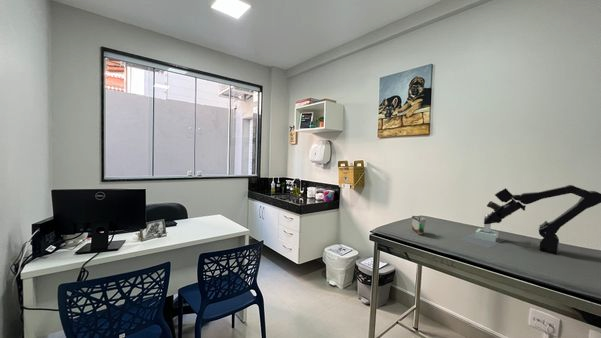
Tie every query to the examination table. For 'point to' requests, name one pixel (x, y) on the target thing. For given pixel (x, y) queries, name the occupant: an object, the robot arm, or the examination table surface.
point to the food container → (418, 225)
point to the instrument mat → (480, 241)
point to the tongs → (487, 225)
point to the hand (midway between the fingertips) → (484, 223)
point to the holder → (486, 235)
